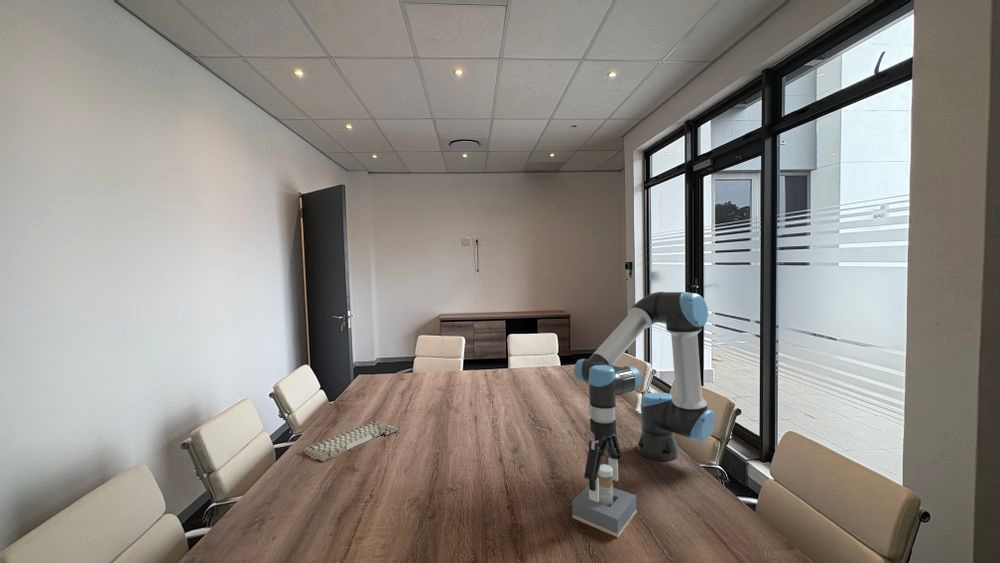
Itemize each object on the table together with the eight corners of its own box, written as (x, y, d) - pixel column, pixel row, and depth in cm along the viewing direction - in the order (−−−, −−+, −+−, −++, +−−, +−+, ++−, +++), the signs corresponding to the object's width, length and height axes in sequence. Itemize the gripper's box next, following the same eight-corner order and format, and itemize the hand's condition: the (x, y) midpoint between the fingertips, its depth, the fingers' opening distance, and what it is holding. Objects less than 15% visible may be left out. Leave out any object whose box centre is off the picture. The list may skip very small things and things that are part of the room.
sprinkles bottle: (602, 505, 116) (601, 462, 116) (616, 511, 113) (615, 466, 113) (594, 512, 113) (594, 467, 113) (609, 518, 110) (608, 472, 110)
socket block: (593, 495, 123) (593, 480, 123) (636, 512, 114) (636, 495, 114) (572, 517, 112) (572, 501, 112) (618, 537, 104) (617, 519, 103)
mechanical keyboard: (325, 467, 148) (324, 458, 148) (300, 455, 159) (299, 447, 159) (401, 433, 179) (401, 425, 179) (375, 424, 190) (375, 418, 190)
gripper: (608, 404, 125) (609, 468, 125) (570, 429, 106) (572, 504, 106) (630, 409, 120) (632, 475, 121) (596, 436, 101) (597, 515, 101)
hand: (604, 489), depth 113 cm, fingers open, 13 cm apart
